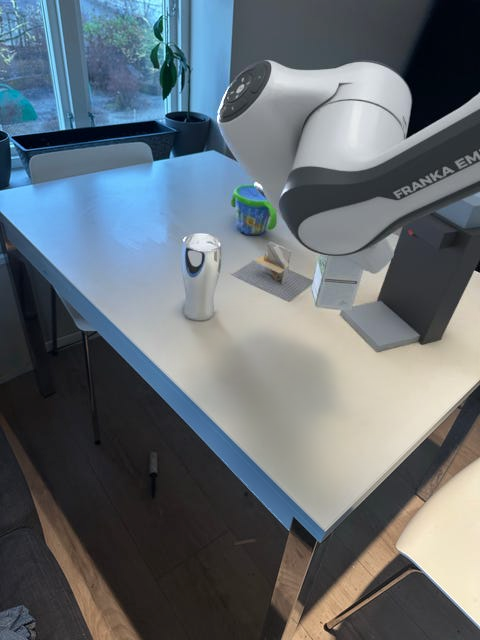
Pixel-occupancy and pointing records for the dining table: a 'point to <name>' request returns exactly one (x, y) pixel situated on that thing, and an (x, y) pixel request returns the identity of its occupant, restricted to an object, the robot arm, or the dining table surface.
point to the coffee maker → (423, 279)
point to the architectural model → (274, 274)
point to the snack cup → (252, 210)
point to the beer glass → (200, 274)
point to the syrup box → (335, 282)
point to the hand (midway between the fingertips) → (346, 250)
